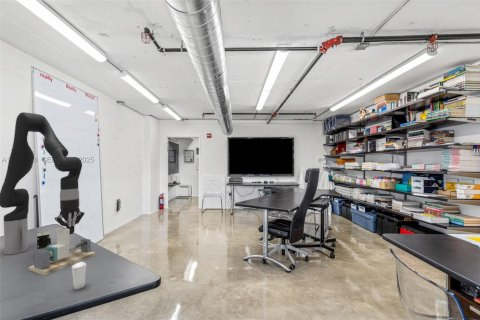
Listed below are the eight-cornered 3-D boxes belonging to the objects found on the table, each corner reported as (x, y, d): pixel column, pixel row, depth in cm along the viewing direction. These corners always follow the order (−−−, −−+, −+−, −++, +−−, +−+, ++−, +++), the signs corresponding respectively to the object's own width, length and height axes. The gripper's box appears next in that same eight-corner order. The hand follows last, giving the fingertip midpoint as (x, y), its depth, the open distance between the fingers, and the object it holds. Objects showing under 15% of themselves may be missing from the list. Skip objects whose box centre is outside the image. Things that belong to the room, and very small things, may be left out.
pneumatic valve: (37, 259, 114) (37, 235, 114) (36, 252, 123) (36, 230, 123) (52, 256, 118) (51, 232, 118) (50, 250, 127) (49, 227, 127)
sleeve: (60, 254, 113) (60, 227, 113) (70, 256, 110) (69, 228, 110) (48, 258, 108) (48, 230, 108) (58, 260, 105) (57, 231, 105)
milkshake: (74, 284, 91) (74, 258, 90) (89, 283, 91) (88, 258, 91) (66, 291, 86) (66, 263, 86) (82, 290, 86) (81, 263, 86)
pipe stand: (79, 251, 123) (79, 235, 123) (95, 255, 119) (95, 238, 119) (28, 270, 103) (28, 251, 103) (45, 275, 98) (44, 254, 98)
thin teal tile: (49, 258, 108) (49, 245, 108) (57, 260, 106) (57, 247, 106) (46, 259, 107) (46, 246, 107) (54, 261, 104) (54, 248, 104)
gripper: (78, 195, 121) (79, 229, 121) (49, 200, 109) (50, 237, 109) (88, 196, 118) (89, 230, 118) (59, 201, 106) (60, 239, 106)
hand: (70, 233), depth 114 cm, fingers closed
